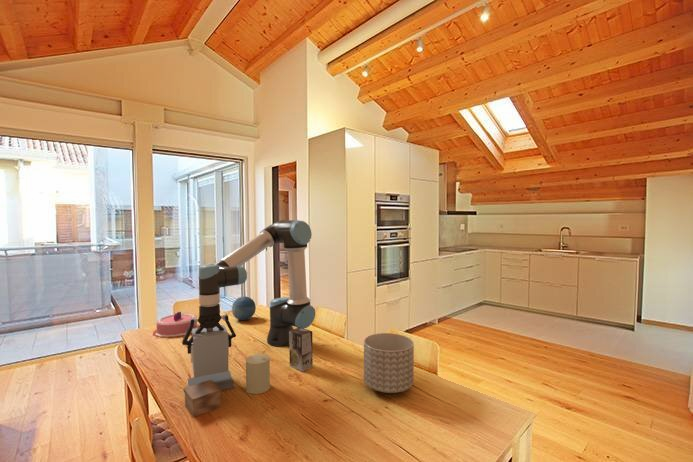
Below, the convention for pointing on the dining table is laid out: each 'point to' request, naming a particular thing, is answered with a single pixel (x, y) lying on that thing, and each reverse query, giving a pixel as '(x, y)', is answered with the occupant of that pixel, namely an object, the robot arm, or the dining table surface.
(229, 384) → the mat
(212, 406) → the box
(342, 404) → the dining table surface
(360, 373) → the dining table surface
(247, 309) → the decorative ball
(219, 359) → the cover
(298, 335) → the coffee box
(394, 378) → the planter
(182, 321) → the cake
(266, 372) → the can
